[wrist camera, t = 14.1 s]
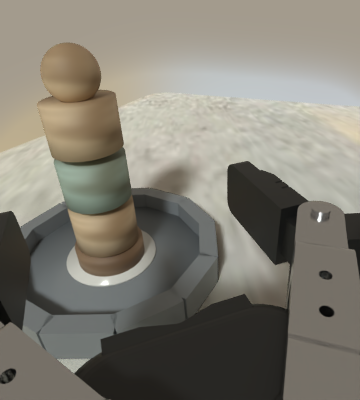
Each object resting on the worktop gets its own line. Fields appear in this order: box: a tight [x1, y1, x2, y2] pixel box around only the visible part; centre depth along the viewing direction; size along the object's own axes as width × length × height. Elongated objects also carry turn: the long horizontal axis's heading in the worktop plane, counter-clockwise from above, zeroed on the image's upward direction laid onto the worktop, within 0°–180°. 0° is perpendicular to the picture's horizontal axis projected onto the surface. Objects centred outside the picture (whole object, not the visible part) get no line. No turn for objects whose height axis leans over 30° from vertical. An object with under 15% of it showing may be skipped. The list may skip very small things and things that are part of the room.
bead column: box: [37, 43, 145, 277], centre depth 24 cm, size 6×6×16 cm
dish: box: [20, 188, 218, 359], centre depth 28 cm, size 18×18×2 cm
